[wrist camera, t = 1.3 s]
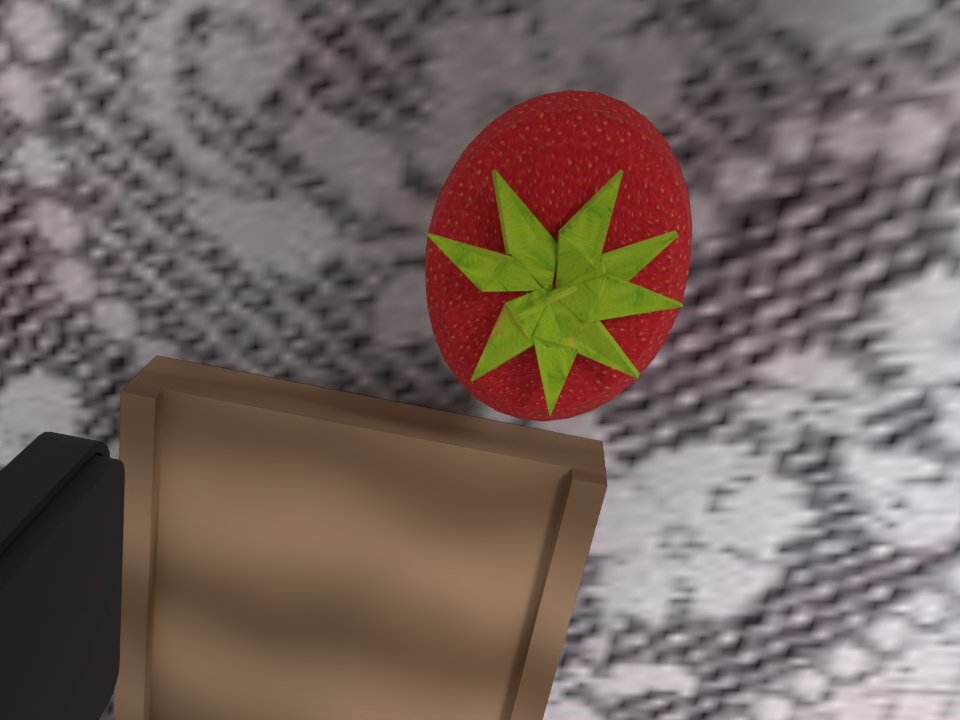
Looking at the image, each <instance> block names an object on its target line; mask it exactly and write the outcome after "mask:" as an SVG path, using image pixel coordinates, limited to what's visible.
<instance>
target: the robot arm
mask: <svg viewBox="0 0 960 720" xmlns="http://www.w3.org/2000/svg"><path fill="white" fill-rule="evenodd" d="M124 492H125V468H124V464H123V462H122V461H121V460H118V459H113V458H110V453H109V450H108V447H107V445H106V444H105V443H104V442H101V441H96V440H91V439H85V438H80V437H75V436H69V435H64V434H59V433H54V432H44V433H43V434H41V435H39V436H38V437H37V438H36V439H35V440H34V441H32V442H31V443H30V444H29V445H28V446H27V447H26V448H25V449H24V450H23V451H22V452H21V453H20V454H18V455H17V456H16V457H15V458H14V459H13V460H12V461H11V462H10V463H9V464H8V465H7V466H5V467H4V468H3V469H2V470H1V471H0V720H99V718H100V717H101V715H102V713H103V712H104V710H105V708H106V707H107V705H108V703H109V701H110V699H111V697H112V694H113V691H114V689H115V685H116V682H117V678H118V674H119V666H120V635H121V600H122V564H123V528H124Z"/></svg>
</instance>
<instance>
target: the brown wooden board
mask: <svg viewBox="0 0 960 720" xmlns="http://www.w3.org/2000/svg"><path fill="white" fill-rule="evenodd" d="M119 460H121V461H122V462H123V464H124V468H125V492H124V528H123V564H122V600H121V635H120V666H119V674H118V678H117V682H116V685H115V689H114V720H542V719H543V716H544V712H545V708H546V705H547V701H548V698H549V694H550V690H551V687H552V683H553V680H554V676H555V672H556V669H557V665H558V662H559V658H560V654H561V651H562V647H563V644H564V640H565V636H566V633H567V629H568V625H569V622H570V618H571V615H572V611H573V607H574V604H575V600H576V597H577V593H578V589H579V586H580V582H581V579H582V575H583V571H584V568H585V564H586V561H587V557H588V553H589V550H590V546H591V542H592V539H593V535H594V532H595V528H596V524H597V521H598V517H599V514H600V510H601V506H602V503H603V499H604V496H605V492H606V488H607V479H606V469H605V460H604V451H603V442H602V441H597V440H592V439H587V438H582V437H577V436H571V435H566V434H561V433H556V432H551V431H546V430H540V429H535V428H530V427H525V426H520V425H514V424H509V423H504V422H499V421H494V420H488V419H483V418H478V417H473V416H468V415H463V414H457V413H452V412H447V411H442V410H437V409H431V408H426V407H421V406H416V405H411V404H405V403H400V402H395V401H390V400H385V399H379V398H374V397H369V396H364V395H359V394H354V393H348V392H343V391H338V390H333V389H328V388H322V387H317V386H312V385H307V384H302V383H296V382H291V381H286V380H281V379H276V378H271V377H265V376H260V375H255V374H250V373H245V372H239V371H234V370H229V369H224V368H219V367H213V366H208V365H203V364H198V363H193V362H188V361H182V360H177V359H172V358H167V357H162V356H156V357H155V358H154V359H153V360H152V361H151V362H150V363H149V364H148V365H147V366H146V367H145V368H144V369H143V370H142V371H141V372H140V373H139V374H138V375H137V376H136V377H135V378H134V379H133V380H132V381H131V382H130V383H129V384H128V385H127V386H126V387H125V388H124V389H123V390H122V391H121V399H120V448H119Z"/></svg>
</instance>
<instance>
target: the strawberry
mask: <svg viewBox="0 0 960 720" xmlns="http://www.w3.org/2000/svg"><path fill="white" fill-rule="evenodd" d="M424 233H425V234H426V235H427V236H428V237H427V247H426V257H425V278H426V295H427V305H428V311H429V315H430V320H431V324H432V328H433V332H434V336H435V339H436V341H437V343H438V346H439V348H440V350H441V353H442V355H443V357H444V359H445V361H446V363H447V364H448V366H449V367H450V369H451V370H452V372H453V373H454V374H455V376H456V377H457V379H458V380H459V382H460V383H461V384H462V385H463V386H464V387H465V388H466V389H468V390H469V391H470V392H471V393H472V394H473V395H474V396H475V397H476V398H477V399H478V400H480V401H482V402H483V403H485V404H486V405H488V406H490V407H491V408H493V409H495V410H496V411H498V412H501V413H504V414H507V415H510V416H513V417H516V418H519V419H526V420H536V421H551V420H559V419H567V418H571V417H574V416H577V415H580V414H583V413H586V412H589V411H591V410H593V409H595V408H597V407H599V406H600V405H602V404H604V403H606V402H607V401H609V400H611V399H613V398H614V397H616V396H617V395H618V394H619V393H621V392H622V391H623V390H624V389H625V388H627V387H628V386H629V385H630V384H631V383H632V382H634V381H635V380H636V379H637V378H638V377H639V375H640V374H641V373H642V372H643V371H644V370H645V368H646V367H647V366H648V365H649V364H650V362H651V361H652V360H653V359H654V358H655V356H656V355H657V353H658V351H659V350H660V348H661V346H662V345H663V343H664V341H665V340H666V338H667V336H668V335H669V333H670V331H671V328H672V326H673V323H674V321H675V318H676V316H677V313H678V311H679V308H680V307H683V303H682V299H683V295H684V290H685V286H686V282H687V277H688V273H689V265H690V256H691V239H692V219H691V210H690V201H689V194H688V190H687V187H686V184H685V181H684V177H683V174H682V171H681V167H680V165H679V163H678V161H677V159H676V157H675V156H674V154H673V152H672V150H671V148H670V146H669V145H668V143H667V141H666V139H665V138H664V137H663V136H662V135H661V134H660V132H659V131H658V130H657V129H656V128H655V127H654V126H653V124H652V123H651V122H650V121H649V120H648V119H647V118H646V117H645V116H643V115H642V114H640V113H639V112H637V111H636V110H634V109H633V108H632V107H630V106H629V105H627V104H626V103H624V102H622V101H619V100H617V99H614V98H611V97H608V96H606V95H603V94H600V93H596V92H584V91H572V90H569V91H563V92H557V93H551V94H545V95H540V96H538V97H536V98H533V99H531V100H528V101H526V102H524V103H521V104H519V105H517V106H514V107H513V108H511V109H510V110H509V111H507V112H506V113H504V114H503V115H501V116H500V117H498V118H497V119H496V120H494V121H493V122H491V123H490V124H489V125H488V126H487V127H486V128H485V129H484V130H483V131H482V132H481V133H480V134H479V135H478V136H477V137H476V138H475V139H474V140H473V141H472V142H471V143H470V144H469V145H468V146H467V148H466V149H465V151H464V153H463V154H462V156H461V157H460V159H459V160H458V162H457V163H456V165H455V167H454V168H453V170H452V171H451V173H450V175H449V177H448V179H447V181H446V183H445V185H444V187H443V189H442V191H441V194H440V196H439V198H438V200H437V202H436V205H435V209H434V213H433V216H432V220H431V224H430V228H429V231H428V233H426V232H424Z"/></svg>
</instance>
